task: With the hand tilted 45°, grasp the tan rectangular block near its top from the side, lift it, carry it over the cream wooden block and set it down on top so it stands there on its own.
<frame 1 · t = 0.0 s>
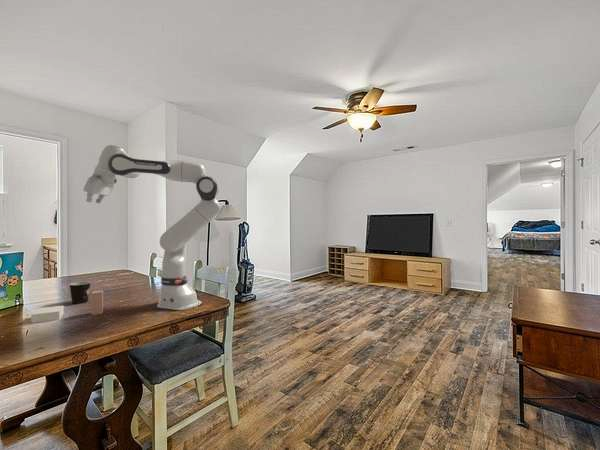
hand: (93, 202, 137), 52 cm above the table, tool tilted 20°, fingers open, 8 cm apart
cream block: (48, 318, 122), on the table
tan rectangular block: (97, 312, 130), on the table
coffee mug: (82, 301, 146), on the table
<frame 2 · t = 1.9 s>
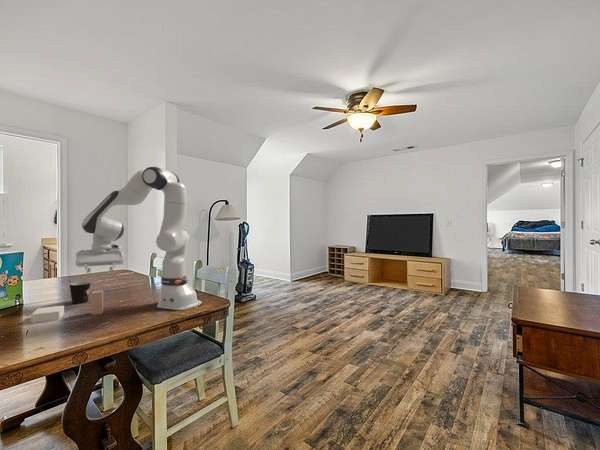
hand: (100, 271, 140), 17 cm above the table, tool tilted 45°, fingers open, 8 cm apart
nothing on the table moved.
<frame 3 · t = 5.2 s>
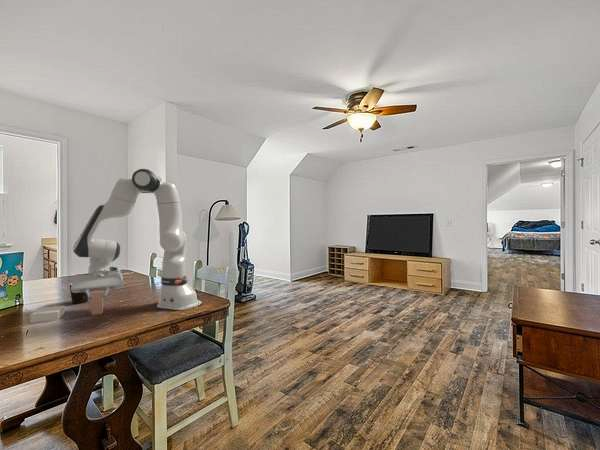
hand: (97, 297, 129), 7 cm above the table, tool tilted 45°, fingers closed on tan rectangular block, 4 cm apart
tan rectangular block: (97, 312, 130), on the table, touching gripper
everything else where it was.
when the fingers open (12 cm above the table, at t = 9.7 s): tan rectangular block stays where it is, resting on cream block.
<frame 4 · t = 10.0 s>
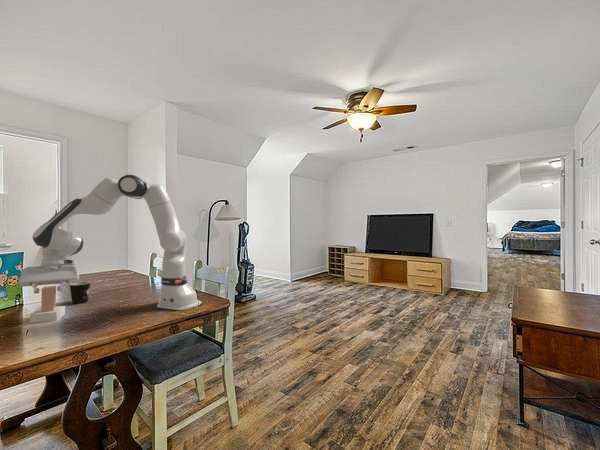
hand: (48, 291, 121), 12 cm above the table, tool tilted 45°, fingers open, 6 cm apart
cream block: (48, 318, 122), on the table, touching tan rectangular block
tan rectangular block: (48, 309, 122), point 4 cm above the table, touching cream block
everything else where it was.
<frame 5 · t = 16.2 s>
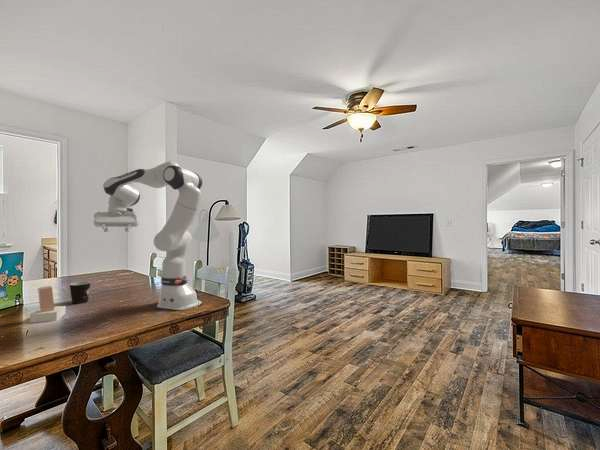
hand: (116, 231, 148), 37 cm above the table, tool tilted 45°, fingers open, 8 cm apart
cream block: (48, 318, 122), on the table
tan rectangular block: (47, 309, 122), point 4 cm above the table
everything else where it was.
at the end: tan rectangular block 0.5 cm off-centre on the cream block, point 4.1 cm above the cream block's base; tan rectangular block tilted 2°; the gripper is holding nothing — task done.
